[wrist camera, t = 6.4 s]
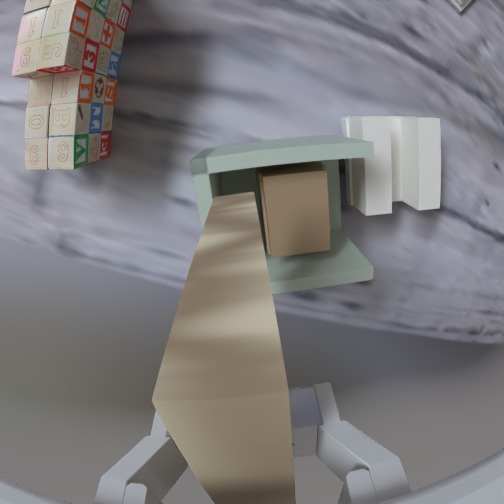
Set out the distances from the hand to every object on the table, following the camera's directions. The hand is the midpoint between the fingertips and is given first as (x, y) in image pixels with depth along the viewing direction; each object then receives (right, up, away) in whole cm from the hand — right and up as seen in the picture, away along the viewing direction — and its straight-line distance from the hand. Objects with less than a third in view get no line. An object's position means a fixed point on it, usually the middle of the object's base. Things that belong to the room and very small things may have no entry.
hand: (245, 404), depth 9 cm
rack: (+3, +11, +25) cm, 28 cm away
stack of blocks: (-18, +26, +19) cm, 36 cm away
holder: (+16, +16, +24) cm, 33 cm away
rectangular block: (0, +5, +11) cm, 12 cm away
